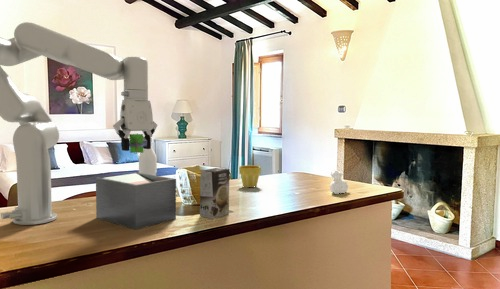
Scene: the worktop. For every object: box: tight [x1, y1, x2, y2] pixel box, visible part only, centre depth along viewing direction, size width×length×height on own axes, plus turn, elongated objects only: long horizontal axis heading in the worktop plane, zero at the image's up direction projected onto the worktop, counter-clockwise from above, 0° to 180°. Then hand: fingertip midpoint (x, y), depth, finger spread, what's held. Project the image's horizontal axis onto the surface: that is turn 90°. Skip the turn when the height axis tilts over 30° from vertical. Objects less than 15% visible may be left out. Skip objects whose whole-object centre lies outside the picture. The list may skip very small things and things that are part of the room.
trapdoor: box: [104, 172, 152, 185], centre depth 131 cm, size 13×14×1 cm
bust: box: [329, 170, 349, 195], centre depth 179 cm, size 12×8×11 cm
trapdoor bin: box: [95, 171, 177, 231], centre depth 130 cm, size 16×21×14 cm
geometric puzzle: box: [128, 133, 147, 155], centre depth 128 cm, size 7×7×8 cm
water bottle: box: [138, 137, 158, 176], centre depth 157 cm, size 7×7×25 cm
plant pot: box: [238, 164, 262, 188], centre depth 189 cm, size 10×10×10 cm
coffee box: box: [199, 167, 231, 220], centre depth 136 cm, size 9×6×16 cm
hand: (136, 149), depth 129 cm, fingers closed on geometric puzzle, 7 cm apart
